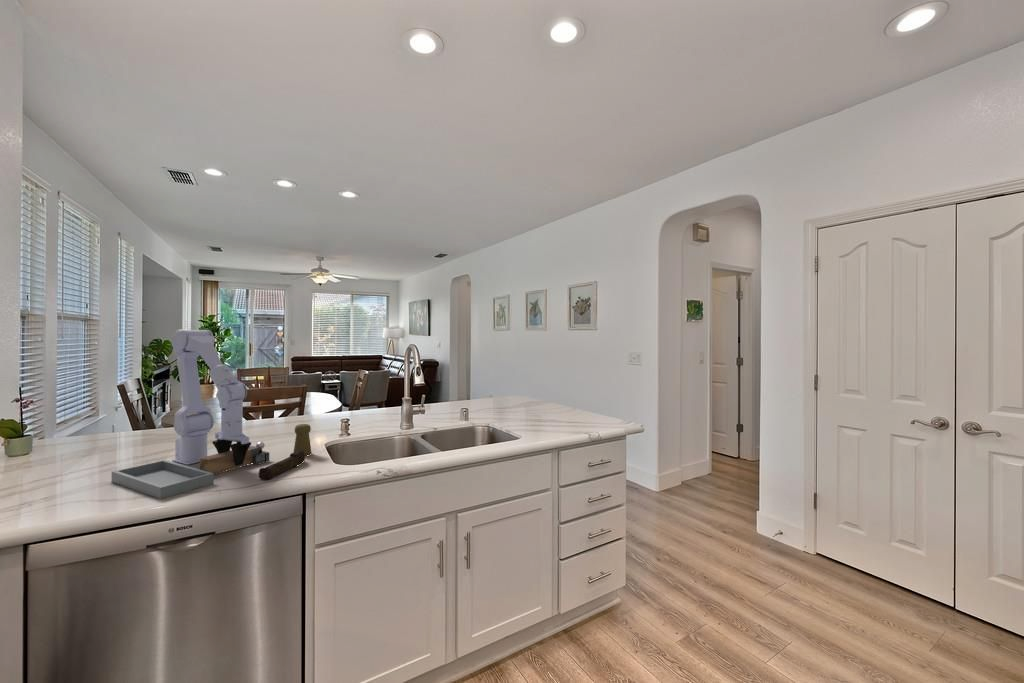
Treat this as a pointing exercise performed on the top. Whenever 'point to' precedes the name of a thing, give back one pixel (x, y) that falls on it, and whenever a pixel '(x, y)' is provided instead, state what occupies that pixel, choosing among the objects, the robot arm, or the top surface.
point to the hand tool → (282, 465)
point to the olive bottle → (302, 439)
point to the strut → (225, 460)
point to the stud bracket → (260, 454)
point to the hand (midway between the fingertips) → (231, 463)
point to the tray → (162, 478)
